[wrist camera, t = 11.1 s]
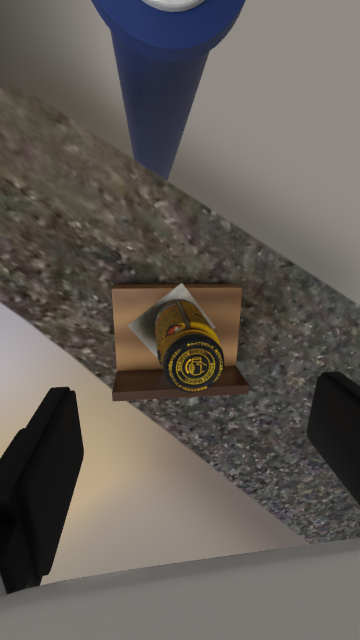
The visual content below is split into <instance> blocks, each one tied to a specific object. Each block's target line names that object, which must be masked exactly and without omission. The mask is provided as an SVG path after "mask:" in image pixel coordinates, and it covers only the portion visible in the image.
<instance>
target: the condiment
mask: <svg viewBox="0 0 360 640" xmlns="http://www.w3.org/2000/svg"><path fill="white" fill-rule="evenodd" d="M128 327H129V328H130V329H131V330H132V331H133V332H134V333H135V334H136V335H137V336H138V338H139V339H140V340H141V341H142V342H143V343H144V344H145V345H146V346H147V347H148V348H149V349H150V350H151V352H152V353H153V354H154V355H155V356H156V357H157V358H158V360H159V363H160V365H161V367H162V368H163V370H164V374H165V376H166V378H167V380H168V381H169V383H170V384H171V385H172V386H173V387H175V388H176V389H178V390H180V391H183V392H188V393H195V392H200V391H205V390H206V389H208V388H210V387H211V386H213V385H214V384H215V383H216V382H217V381H218V380H219V378H220V376H221V375H222V373H223V372H224V367H225V361H224V355H223V351H222V348H221V346H220V341H219V339H218V336H217V335H216V333H215V331H214V330H213V329H214V328H215V325H214V324H213V323H212V321H211V320H210V319H209V317H208V316H207V315H206V314H205V312H204V311H203V310H202V308H201V307H200V306H199V304H198V303H197V302H196V301H195V299H194V298H193V297H192V295H191V294H190V293H189V291H188V290H187V289H186V288H185V286H184V285H183V284H182V283H181V284H180V285H178V286H177V287H176V288H175V289H173V290H172V291H171V292H169V293H168V294H167V295H166V296H164V297H163V298H162V299H160V300H159V301H158V302H157V303H155V304H154V305H153V306H152V307H151V308H149V309H148V310H147V311H145V312H144V313H143V314H142V315H140V316H139V317H138V318H137V319H135V320H134V321H133V322H132V323H130V324H129V325H128Z"/></svg>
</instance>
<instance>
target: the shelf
mask: <svg viewBox="0 0 360 640" xmlns="http://www.w3.org/2000/svg"><path fill="white" fill-rule="evenodd" d="M178 285H180V284H115V285H114V286H113V288H112V301H113V316H114V331H115V346H116V361H117V374H116V378H115V383H114V387H113V391H112V398H113V401H128V400H146V399H164V398H181V397H199V396H216V395H234V394H248V392H249V384H248V383H247V381H246V380H245V378H244V377H243V376H242V374H241V373H240V371H239V370H238V368H237V367H236V359H237V347H238V336H239V324H240V313H241V301H242V290H243V288H242V287H240V286H238V285H236V284H183V285H184V286H185V288H186V289H187V290H188V291H189V293H190V294H191V295H192V297H193V298H194V299H195V301H196V302H197V303H198V304H199V306H200V307H201V308H202V310H203V311H204V312H205V314H206V315H207V316H208V317H209V319H210V320H211V321H212V323H213V324H214V325H215V328H214V329H213V330H214V331H215V333H216V335H217V336H218V339H219V341H220V346H221V348H222V351H223V355H224V361H225V367H224V372H223V373H222V375H221V376H220V378H219V380H218V381H217V382H216V383H215V384H214V385H213V386H211V387H210V388H208V389H206V390H205V391H200V392H195V393H188V392H183V391H180V390H178V389H176V388H175V387H173V386H172V385H171V384H170V383H169V381H168V380H167V378H166V376H165V374H164V370H163V368H162V367H161V365H160V363H159V360H158V358H157V357H156V356H155V355H154V354H153V353H152V352H151V350H150V349H149V348H148V347H147V346H146V345H145V344H144V343H143V342H142V341H141V340H140V339H139V338H138V336H137V335H136V334H135V333H134V332H133V331H132V330H131V329H130V328H129V327H128V325H129V324H130V323H132V322H133V321H134V320H135V319H137V318H138V317H139V316H140V315H142V314H143V313H144V312H145V311H147V310H148V309H149V308H151V307H152V306H153V305H154V304H155V303H157V302H158V301H159V300H160V299H162V298H163V297H164V296H166V295H167V294H168V293H169V292H171V291H172V290H173V289H175V288H176V287H177V286H178Z"/></svg>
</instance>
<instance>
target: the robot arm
mask: <svg viewBox="0 0 360 640" xmlns="http://www.w3.org/2000/svg"><path fill="white" fill-rule="evenodd" d="M142 1H143V2H145V3H146V4H147V5H149V6H151V7H154V8H156V9H158V10H162V11H168V12H181V11H186V10H189V9H192V8H194V7H196V6H198V5H199V4H201V3H202V2H204V1H205V0H142ZM307 436H308V439H309V440H310V442H311V443H312V444H313V446H314V447H315V448H316V450H317V451H318V452H319V454H320V455H321V456H322V457H323V459H324V460H325V461H326V463H327V464H328V465H329V466H330V468H331V469H332V470H333V472H334V473H335V474H336V476H337V477H338V478H339V479H340V481H341V482H342V483H343V485H344V486H345V487H346V488H347V490H348V491H349V492H350V494H351V495H352V496H353V497H354V499H355V500H356V501H357V503H358V504H359V505H360V386H359V385H357V384H356V383H354V382H353V381H352V380H350V379H349V378H348V377H346V376H345V375H343V374H342V373H340V372H324V373H322V374H321V376H319V377H318V379H317V383H316V387H315V392H314V397H313V402H312V407H311V412H310V417H309V422H308V427H307ZM83 454H84V449H83V442H82V435H81V428H80V421H79V414H78V407H77V401H76V394H75V391H70V388H69V387H56V388H51V389H50V390H49V391H48V393H47V395H46V396H45V398H44V399H43V401H42V403H41V404H40V406H39V407H38V409H37V410H36V412H35V414H34V415H33V417H32V418H31V420H30V421H29V423H28V425H27V426H26V428H23V429H21V430H19V432H18V433H17V434H16V436H15V437H14V439H13V440H12V442H11V443H10V445H9V446H8V448H7V449H6V451H5V452H4V454H3V455H2V457H1V459H0V640H360V538H355V539H348V540H340V541H333V542H325V543H318V544H310V545H303V546H296V547H288V548H281V549H273V550H266V551H259V552H252V553H245V554H237V555H230V556H223V557H216V558H209V559H202V560H195V561H188V562H181V563H173V564H167V565H159V566H152V567H145V568H138V569H131V570H126V571H119V572H114V573H107V574H101V575H94V576H89V577H82V578H77V579H70V580H64V581H59V582H55V583H50V584H46V585H41V586H40V583H41V580H42V576H45V575H48V574H49V572H50V570H51V567H52V564H53V561H54V557H55V554H56V551H57V547H58V544H59V540H60V537H61V533H62V530H63V526H64V523H65V519H66V516H67V513H68V509H69V506H70V502H71V499H72V495H73V491H74V488H75V485H76V482H77V478H78V475H79V471H80V468H81V464H82V461H83Z"/></svg>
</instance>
